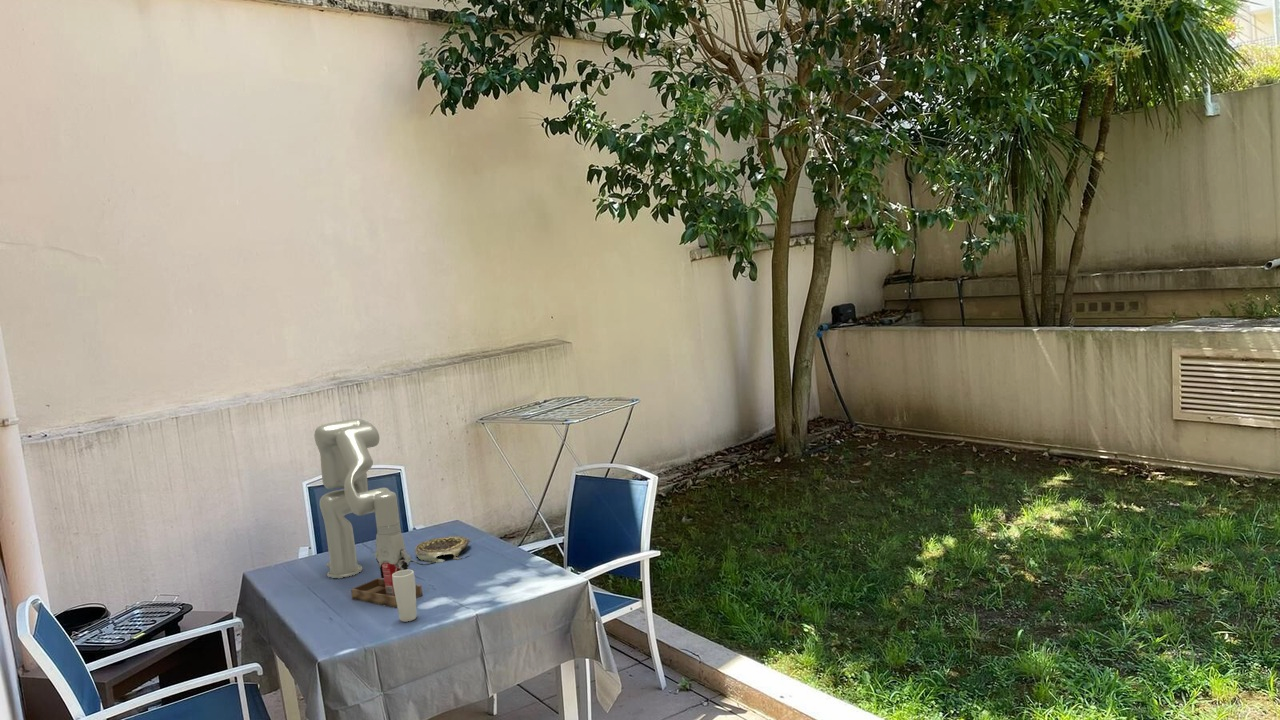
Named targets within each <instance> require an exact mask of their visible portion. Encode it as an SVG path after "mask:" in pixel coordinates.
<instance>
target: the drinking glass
mask: <svg viewBox="0 0 1280 720" xmlns="http://www.w3.org/2000/svg"><path fill="white" fill-rule="evenodd" d="M392 581H393V588H394V593H395V598H396V602H397V611H398V617H399V620H400V622H403V623H407V622H408V621H409V622H412V621H415V620H416V619H417V617H418V613H417V598H416V585H417V584H416V577H415V572H414V570H412V569H408V570H401V571H397V572H395V573H393V574H392ZM415 584H416V585H415ZM409 622H408V623H409Z"/></svg>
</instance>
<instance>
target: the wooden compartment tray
mask: <svg viewBox="0 0 1280 720" xmlns="http://www.w3.org/2000/svg"><path fill="white" fill-rule="evenodd" d="M415 585H416V599H418V598H420V597H422V596H423V589H422V587H423V586H422V585H421V584H416V583H415ZM350 595H351V600H355V601H359V602H363V603H369V604H375V605H378V604H379V605H378V606H383V605H385V606H384V607H388V606H389V608H393V607H395V609H397V608H398V607H397V602H396V598H395V596H389V595H387V594H386V588H385V582H384V578H381V577H377V578H375V579H372V580H370V581H368V582H365V583H362V584H360V585H358V586H355V587H353V588H350ZM396 607H397V608H396Z"/></svg>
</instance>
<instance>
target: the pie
mask: <svg viewBox="0 0 1280 720" xmlns="http://www.w3.org/2000/svg"><path fill="white" fill-rule="evenodd" d="M470 541H471V540H470V538H468V537H463V536H453V535H451V536H444V537H439V538H431V539H430V540H425V541H423V542H420V543H418V544H417V545H415V548H414V552H415V554H416V555H417V556H416V558H417V557H418V558H419V559H421V560H420V561H423V560H424V561H423V562H429V563H427V565H431V564H434V563H435V562H436V563H437V564H438V562H439V563H444V562H446V559H442V558H437V557H438V556H439V557H440V556H442V555H443V556H445V555H453V560H456V559H457V560H459V559H460V560H462V558H463V557H459V556H460V555H459V554H461V553H462V552H463V550H464V549H465V548H466V547H467V546H468V544H469V543H470ZM461 551H462V552H461ZM460 552H461V553H460ZM458 555H459V556H458ZM456 556H457V557H456ZM418 558H417V559H418ZM419 559H418V560H419ZM412 561H413V560H410V562H412ZM443 561H444V562H443ZM414 562H415V563H418V564H421V565H422V563H421V562H417V561H416V560H414ZM425 564H426V563H425ZM425 564H423V565H425Z"/></svg>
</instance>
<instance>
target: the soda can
mask: <svg viewBox="0 0 1280 720" xmlns="http://www.w3.org/2000/svg"><path fill="white" fill-rule="evenodd" d="M400 560H401V559H400ZM400 560H399V561H400ZM389 563H390V562H383V564H382V570H383V576H384V578H383V579H384V582H385V588H386V594H387V595H389V596H395V593H394V588H393V581H392V574H393V573H395V572H397V571H399V570H400V568H399V567H398V565H397V564H395V565H392V564H389ZM401 564H402V565H403V563H401Z"/></svg>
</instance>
